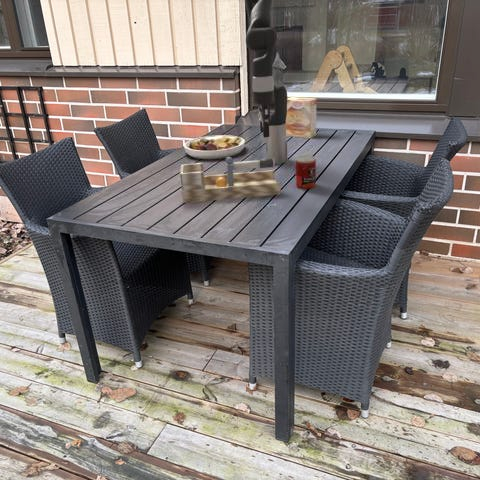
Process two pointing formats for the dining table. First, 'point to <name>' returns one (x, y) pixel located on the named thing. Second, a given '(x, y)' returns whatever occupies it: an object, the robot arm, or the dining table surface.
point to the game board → (244, 186)
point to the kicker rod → (246, 166)
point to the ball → (221, 182)
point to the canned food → (305, 172)
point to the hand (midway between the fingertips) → (264, 134)
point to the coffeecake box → (301, 117)
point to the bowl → (214, 146)
